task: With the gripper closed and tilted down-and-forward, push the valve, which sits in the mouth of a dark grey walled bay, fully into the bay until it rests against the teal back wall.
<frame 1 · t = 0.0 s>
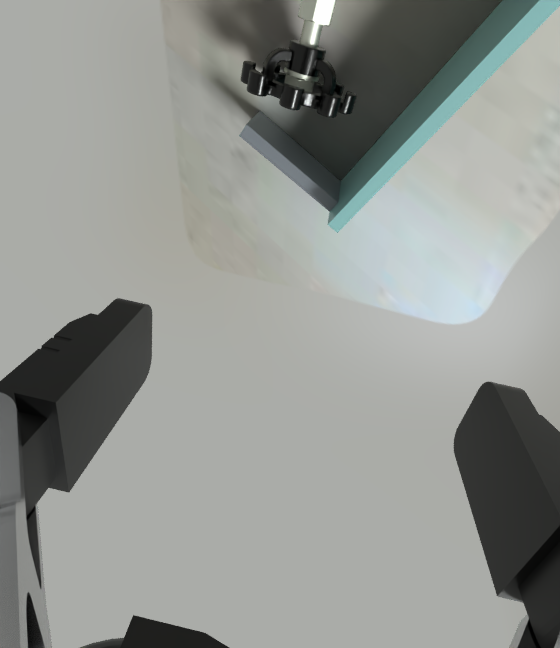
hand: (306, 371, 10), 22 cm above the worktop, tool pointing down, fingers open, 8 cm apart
walled bay: (396, 36, 24), on the worktop
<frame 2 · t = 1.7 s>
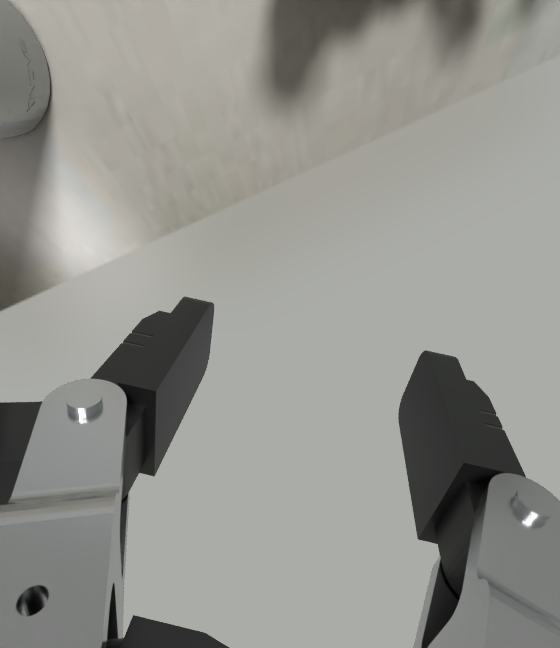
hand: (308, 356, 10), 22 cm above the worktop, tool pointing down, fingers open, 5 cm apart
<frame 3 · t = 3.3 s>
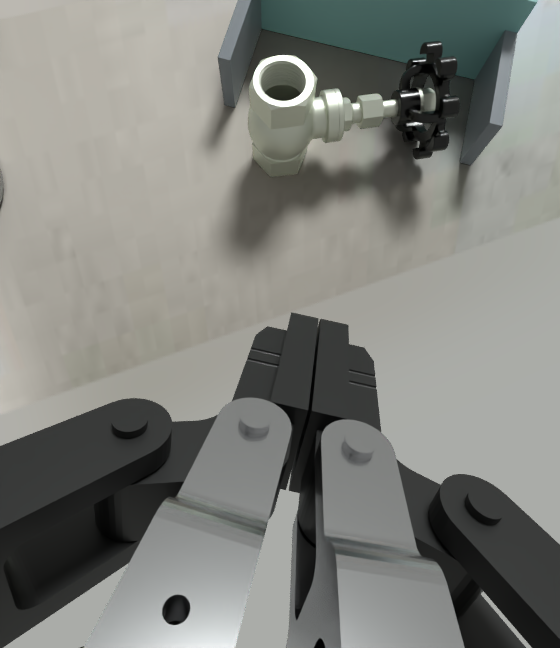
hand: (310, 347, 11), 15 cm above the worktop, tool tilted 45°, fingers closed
valve: (333, 149, 29), on the worktop
walled bay: (358, 88, 30), on the worktop
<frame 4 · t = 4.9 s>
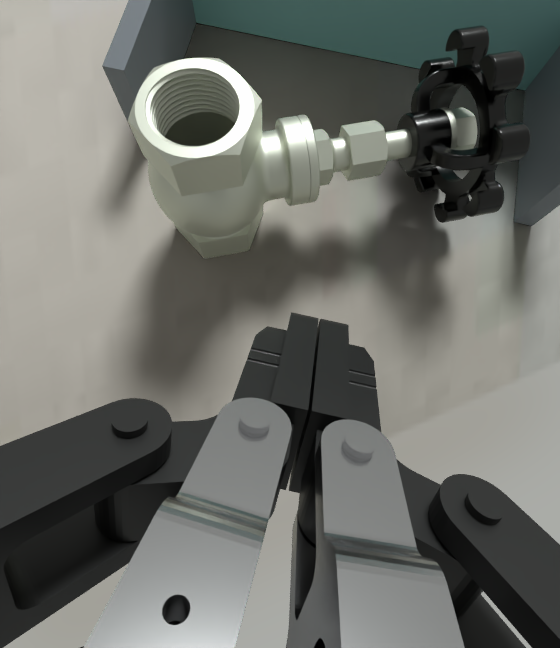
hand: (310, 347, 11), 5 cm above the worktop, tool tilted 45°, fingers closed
valve: (307, 208, 18), on the worktop
walled bay: (347, 109, 19), on the worktop
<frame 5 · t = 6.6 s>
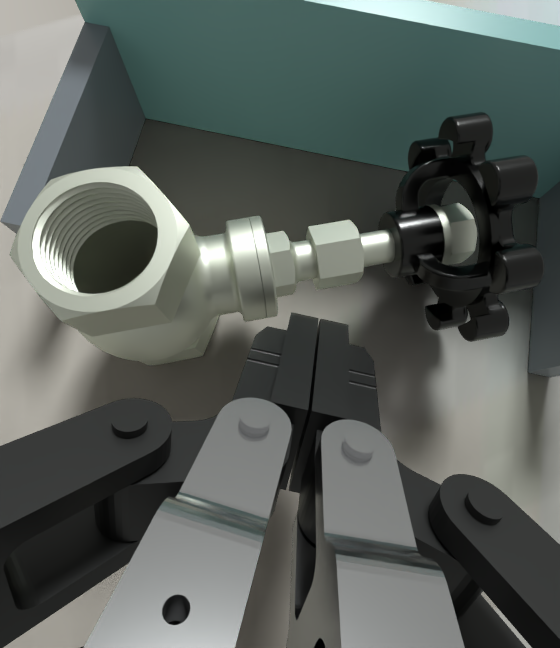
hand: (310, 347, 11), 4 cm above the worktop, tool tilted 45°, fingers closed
valve: (275, 300, 16), on the worktop
walled bay: (325, 227, 16), on the worktop
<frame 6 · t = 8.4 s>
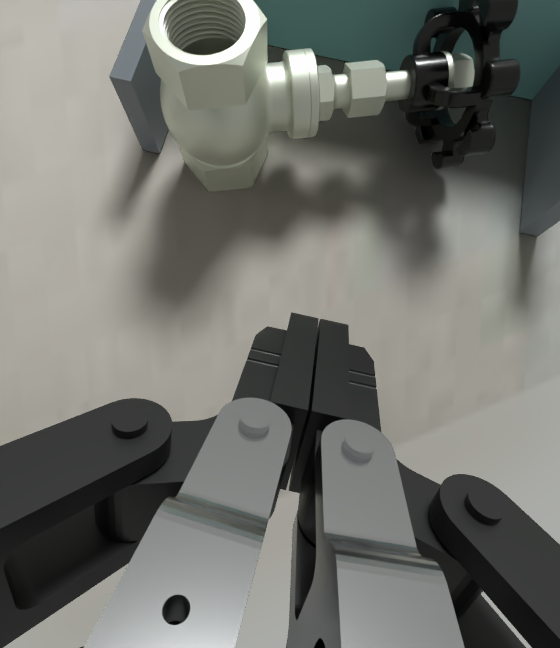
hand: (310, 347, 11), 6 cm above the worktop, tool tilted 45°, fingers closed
valve: (310, 152, 19), on the worktop
walled bay: (353, 118, 19), on the worktop
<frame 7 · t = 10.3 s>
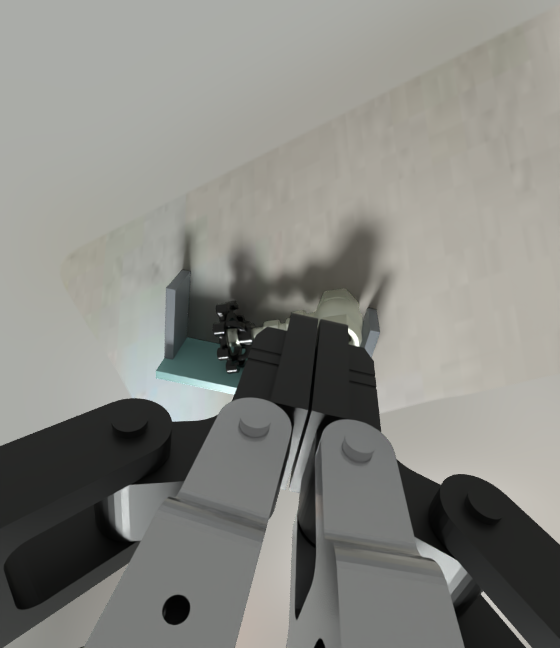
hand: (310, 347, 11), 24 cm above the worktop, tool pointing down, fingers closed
valve: (295, 310, 38), on the worktop
walled bay: (271, 326, 39), on the worktop
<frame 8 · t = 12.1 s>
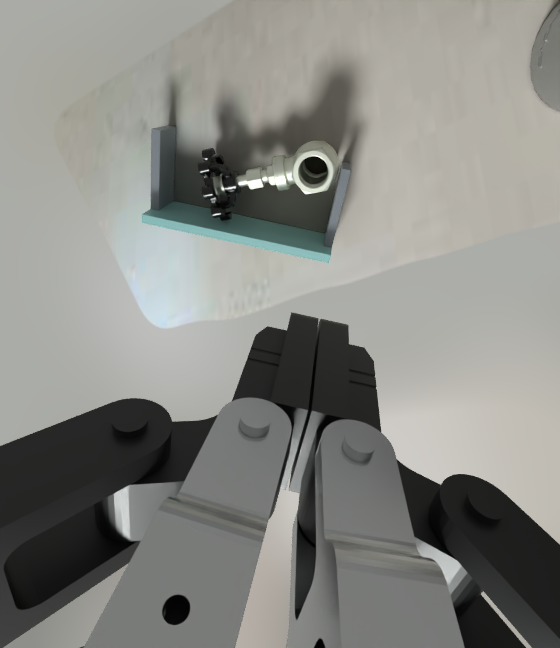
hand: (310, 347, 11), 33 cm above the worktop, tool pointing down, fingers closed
valve: (278, 168, 41), on the worktop
walled bay: (252, 186, 41), on the worktop
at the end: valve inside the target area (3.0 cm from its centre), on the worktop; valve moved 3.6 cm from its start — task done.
